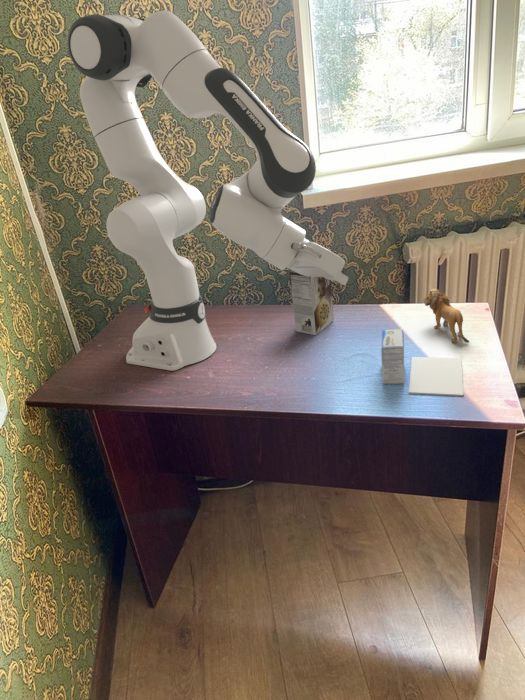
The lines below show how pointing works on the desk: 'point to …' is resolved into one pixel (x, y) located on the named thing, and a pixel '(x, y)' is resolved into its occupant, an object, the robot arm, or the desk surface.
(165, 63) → the robot arm
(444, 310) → the lion figurine
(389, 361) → the medicine box
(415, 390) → the mat
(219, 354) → the desk surface
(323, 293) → the coffee box
